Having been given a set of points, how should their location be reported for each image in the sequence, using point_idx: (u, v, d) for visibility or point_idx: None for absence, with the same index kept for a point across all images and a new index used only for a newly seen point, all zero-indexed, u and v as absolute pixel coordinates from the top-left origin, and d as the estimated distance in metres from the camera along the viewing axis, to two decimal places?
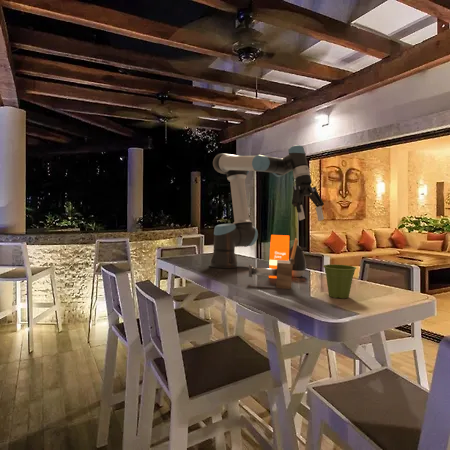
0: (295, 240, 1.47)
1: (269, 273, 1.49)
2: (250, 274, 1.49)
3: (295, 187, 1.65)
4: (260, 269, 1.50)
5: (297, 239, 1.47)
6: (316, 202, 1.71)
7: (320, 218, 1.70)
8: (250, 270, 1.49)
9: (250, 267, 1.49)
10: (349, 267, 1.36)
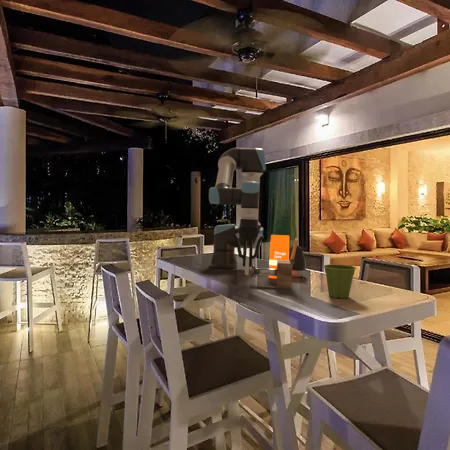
0: (295, 240, 1.47)
1: (272, 273, 1.49)
2: (253, 274, 1.49)
3: (234, 237, 1.52)
4: (263, 269, 1.50)
5: (297, 239, 1.47)
6: (249, 252, 1.51)
7: None
8: (253, 270, 1.49)
9: (253, 267, 1.49)
10: (349, 267, 1.36)
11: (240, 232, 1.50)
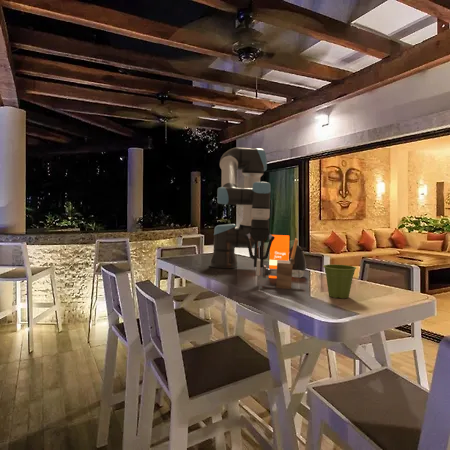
0: (295, 240, 1.47)
1: None
2: (264, 275, 1.48)
3: None
4: (274, 270, 1.49)
5: (297, 239, 1.47)
6: None
7: None
8: (264, 271, 1.48)
9: (264, 268, 1.49)
10: (349, 267, 1.36)
11: (251, 232, 1.50)
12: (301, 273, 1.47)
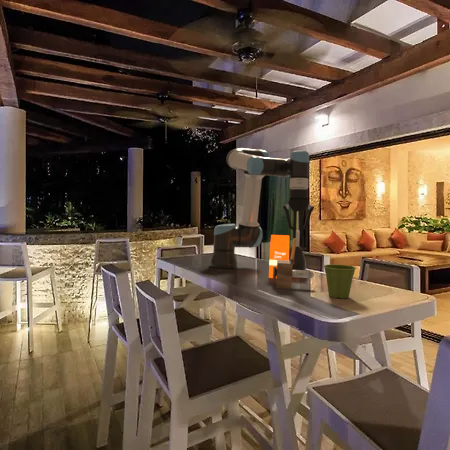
0: None
1: (294, 274, 1.47)
2: (274, 275, 1.48)
3: None
4: None
5: None
6: (299, 223, 1.48)
7: None
8: (274, 271, 1.47)
9: (274, 268, 1.48)
10: (349, 267, 1.36)
11: (290, 203, 1.47)
12: (311, 274, 1.47)
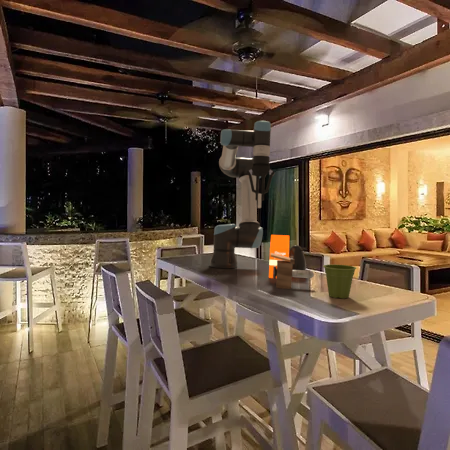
0: None
1: (294, 274, 1.47)
2: (274, 275, 1.48)
3: (247, 174, 1.64)
4: None
5: None
6: None
7: None
8: (274, 271, 1.47)
9: (274, 268, 1.48)
10: (349, 267, 1.36)
11: (253, 168, 1.63)
12: (311, 274, 1.47)
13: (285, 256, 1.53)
